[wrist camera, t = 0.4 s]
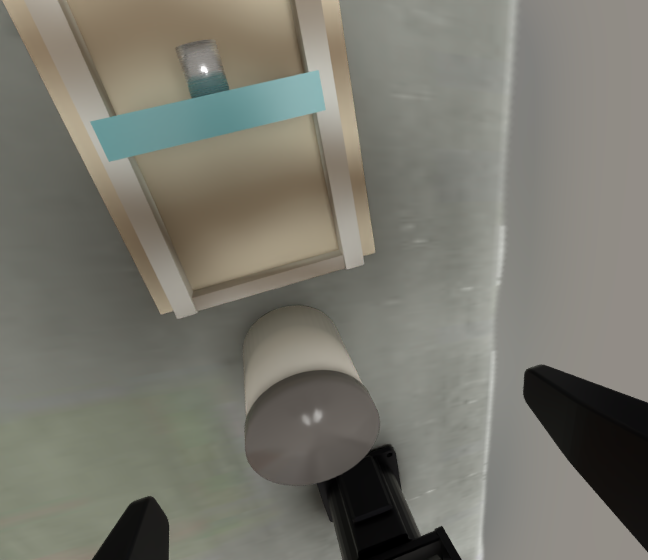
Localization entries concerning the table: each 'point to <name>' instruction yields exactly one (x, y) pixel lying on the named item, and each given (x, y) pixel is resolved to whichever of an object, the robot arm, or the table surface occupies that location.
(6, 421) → the table surface
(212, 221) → the lane
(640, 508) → the robot arm
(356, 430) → the jar
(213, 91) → the plate
